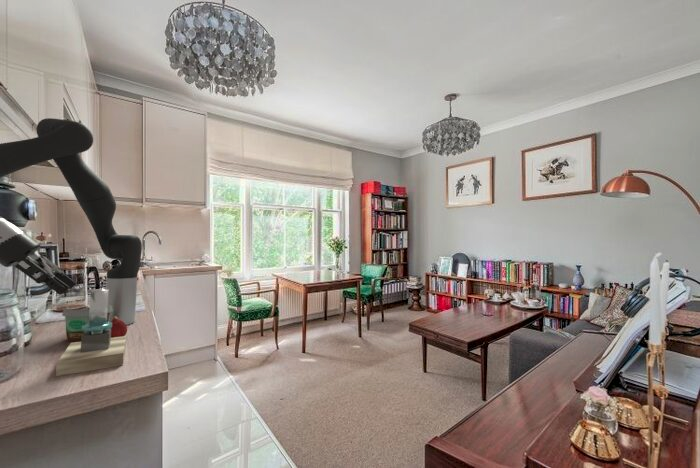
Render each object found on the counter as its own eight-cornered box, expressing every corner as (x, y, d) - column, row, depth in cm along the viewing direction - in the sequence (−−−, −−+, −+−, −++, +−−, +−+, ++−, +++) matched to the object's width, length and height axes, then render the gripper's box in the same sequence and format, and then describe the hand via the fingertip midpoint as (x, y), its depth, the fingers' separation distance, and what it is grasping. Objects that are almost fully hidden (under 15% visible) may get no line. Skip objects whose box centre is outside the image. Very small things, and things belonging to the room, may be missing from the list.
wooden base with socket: (70, 354, 79) (71, 327, 80) (125, 346, 86) (127, 322, 87) (55, 376, 66) (58, 344, 67) (122, 365, 73) (124, 336, 74)
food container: (51, 345, 85) (53, 311, 86) (61, 339, 91) (64, 306, 91) (104, 341, 90) (106, 308, 91) (111, 335, 96) (113, 304, 96)
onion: (131, 340, 91) (132, 314, 92) (114, 347, 86) (116, 319, 86) (114, 339, 92) (115, 313, 92) (96, 345, 86) (98, 318, 86)
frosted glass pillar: (82, 345, 77) (86, 289, 78) (111, 341, 81) (115, 287, 81) (78, 352, 72) (82, 292, 73) (109, 348, 76) (113, 290, 76)
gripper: (11, 230, 64) (79, 281, 70) (32, 232, 75) (88, 275, 81) (-29, 254, 60) (46, 305, 66) (-1, 252, 72) (60, 296, 78)
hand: (69, 289), depth 74 cm, fingers open, 8 cm apart
